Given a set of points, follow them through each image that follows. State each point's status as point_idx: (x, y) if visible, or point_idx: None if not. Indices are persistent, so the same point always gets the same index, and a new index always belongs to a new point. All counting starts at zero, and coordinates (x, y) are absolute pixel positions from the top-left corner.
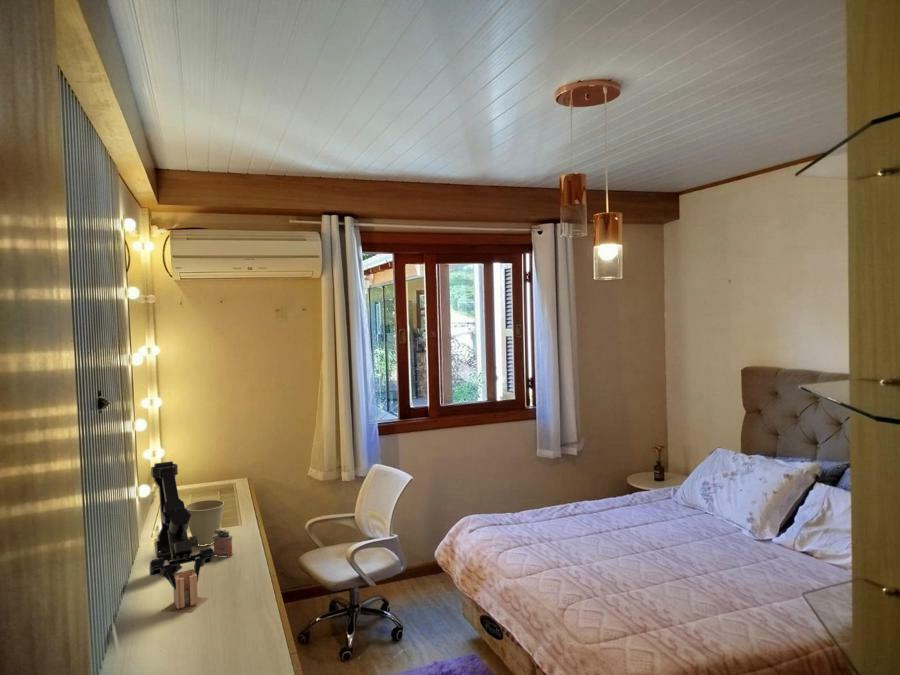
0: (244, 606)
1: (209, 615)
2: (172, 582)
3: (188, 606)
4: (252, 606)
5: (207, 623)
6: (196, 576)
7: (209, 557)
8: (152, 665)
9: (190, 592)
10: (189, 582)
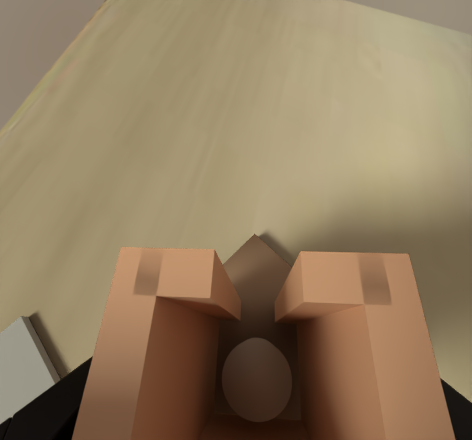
0: (61, 190)
1: (192, 194)
2: (443, 384)
3: (250, 318)
4: (44, 174)
5: (219, 141)
6: (132, 252)
7: None
8: (397, 20)
9: (233, 288)
10: (223, 307)
